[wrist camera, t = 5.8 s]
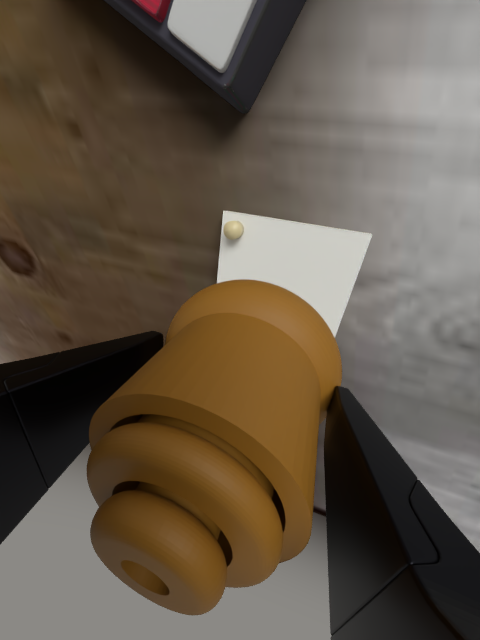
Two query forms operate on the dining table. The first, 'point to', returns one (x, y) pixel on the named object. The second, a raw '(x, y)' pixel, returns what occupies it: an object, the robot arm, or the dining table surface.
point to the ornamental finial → (214, 447)
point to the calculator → (218, 38)
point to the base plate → (294, 259)
